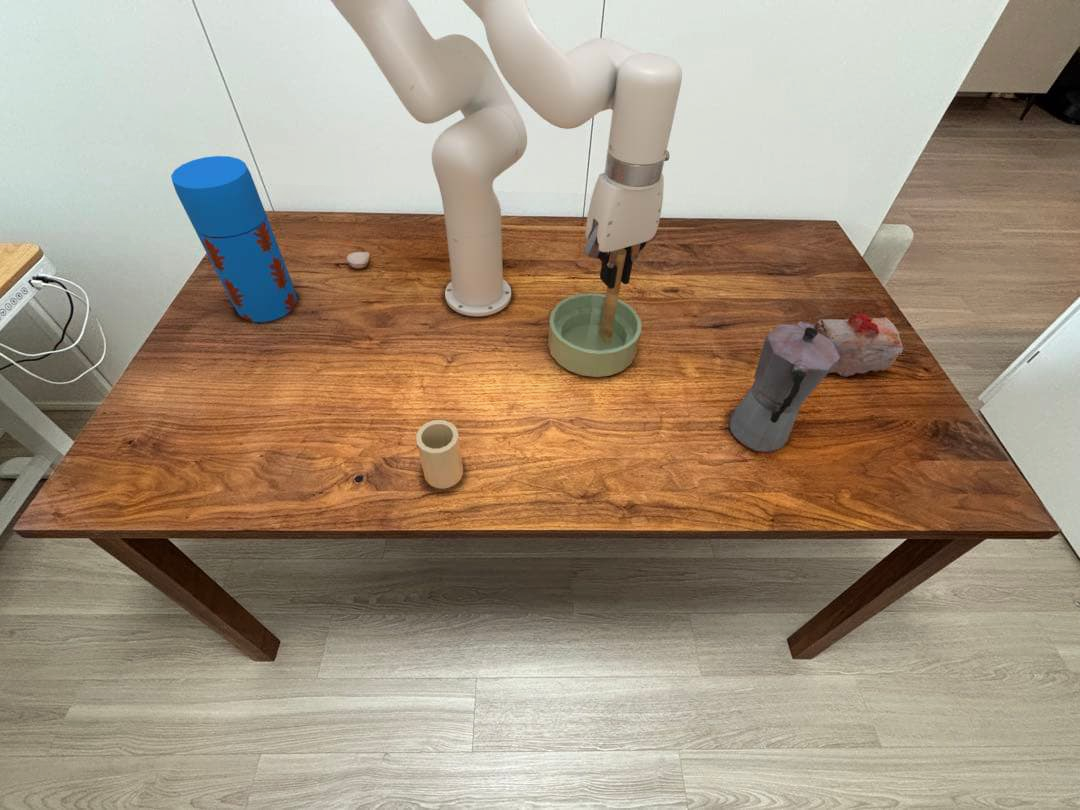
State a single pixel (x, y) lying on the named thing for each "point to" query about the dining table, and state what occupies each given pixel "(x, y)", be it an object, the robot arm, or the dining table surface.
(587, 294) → the bowl
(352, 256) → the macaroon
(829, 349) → the moka pot
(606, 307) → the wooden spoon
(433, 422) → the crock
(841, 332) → the food item
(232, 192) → the thermos
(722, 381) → the dining table surface
